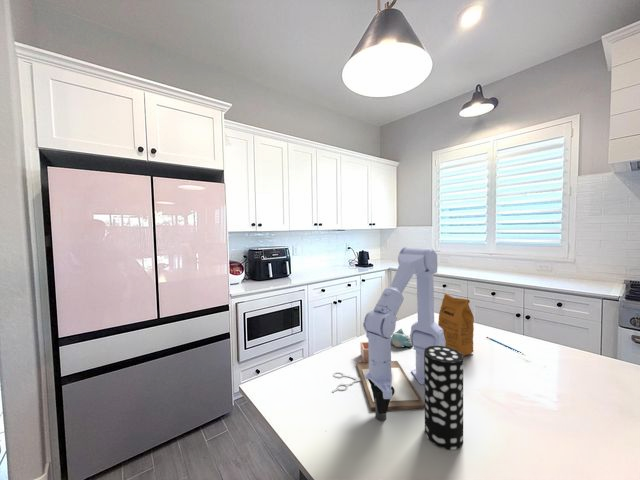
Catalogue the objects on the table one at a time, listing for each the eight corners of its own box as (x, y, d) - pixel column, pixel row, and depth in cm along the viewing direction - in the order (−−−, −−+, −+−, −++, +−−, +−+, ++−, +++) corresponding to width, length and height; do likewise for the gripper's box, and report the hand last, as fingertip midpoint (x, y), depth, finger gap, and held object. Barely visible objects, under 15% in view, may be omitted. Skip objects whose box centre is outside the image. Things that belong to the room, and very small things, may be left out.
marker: (384, 412, 71) (384, 380, 70) (388, 420, 68) (387, 387, 67) (373, 413, 71) (373, 380, 70) (376, 421, 68) (375, 387, 67)
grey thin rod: (487, 338, 116) (487, 336, 116) (526, 356, 99) (526, 354, 99) (486, 338, 116) (486, 336, 116) (525, 356, 99) (525, 354, 99)
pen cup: (376, 354, 103) (376, 341, 103) (380, 362, 97) (380, 348, 97) (360, 354, 103) (360, 342, 103) (363, 362, 97) (363, 349, 97)
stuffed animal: (418, 329, 114) (409, 333, 104) (417, 346, 113) (409, 351, 104) (394, 324, 120) (384, 327, 111) (393, 340, 120) (383, 345, 110)
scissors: (328, 372, 91) (384, 368, 92) (328, 375, 91) (384, 370, 92) (332, 391, 80) (396, 386, 82) (332, 394, 80) (396, 388, 82)
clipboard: (397, 363, 96) (397, 358, 96) (425, 408, 72) (425, 401, 72) (356, 365, 96) (356, 359, 95) (371, 410, 72) (371, 403, 71)
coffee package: (451, 341, 113) (451, 291, 112) (477, 354, 101) (477, 298, 100) (433, 345, 109) (433, 293, 108) (458, 359, 98) (457, 301, 97)
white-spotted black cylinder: (418, 423, 66) (418, 346, 66) (450, 421, 67) (449, 344, 66) (435, 451, 58) (435, 363, 57) (471, 448, 59) (471, 361, 58)
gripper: (359, 345, 76) (360, 391, 76) (370, 373, 61) (371, 429, 62) (383, 344, 76) (384, 390, 76) (400, 372, 61) (401, 428, 62)
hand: (380, 408), depth 69 cm, fingers closed on marker, 3 cm apart
